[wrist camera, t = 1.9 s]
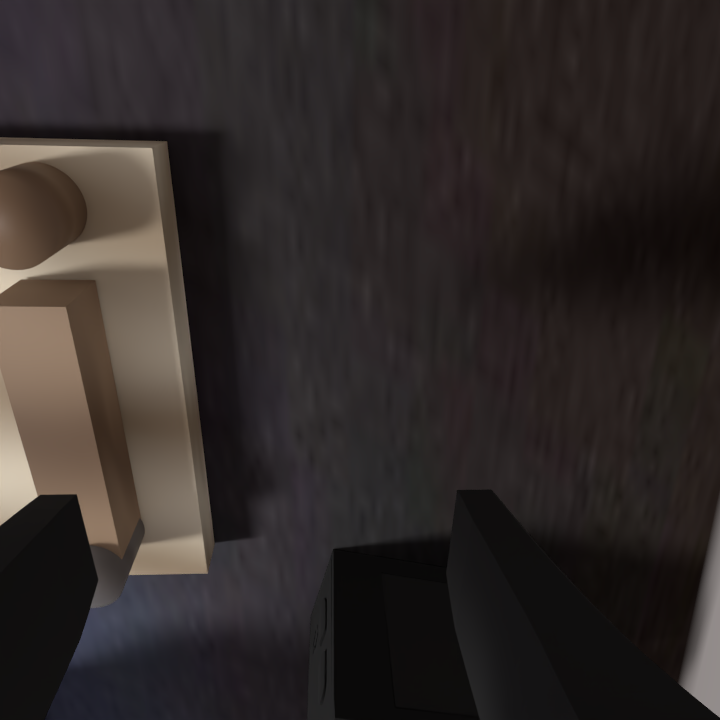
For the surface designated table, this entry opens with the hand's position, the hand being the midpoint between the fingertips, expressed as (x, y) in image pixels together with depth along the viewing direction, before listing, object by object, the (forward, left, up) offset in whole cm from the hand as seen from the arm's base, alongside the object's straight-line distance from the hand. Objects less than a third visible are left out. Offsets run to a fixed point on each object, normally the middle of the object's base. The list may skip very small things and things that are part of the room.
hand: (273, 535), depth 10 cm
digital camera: (-14, -5, -10) cm, 18 cm away
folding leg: (-3, +7, -8) cm, 11 cm away
